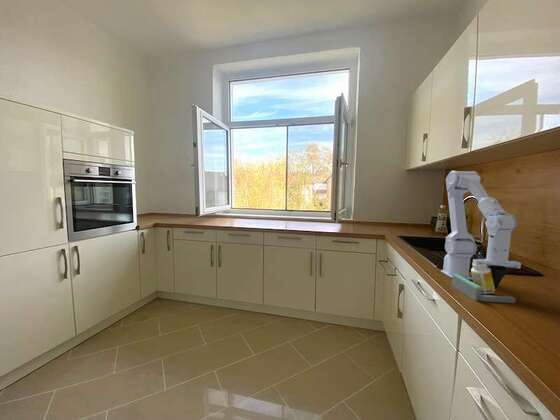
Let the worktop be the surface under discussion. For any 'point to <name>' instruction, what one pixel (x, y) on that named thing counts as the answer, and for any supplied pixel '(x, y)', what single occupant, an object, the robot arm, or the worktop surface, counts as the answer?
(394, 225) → the worktop surface
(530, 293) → the worktop surface
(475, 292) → the bay
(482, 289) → the supplement bottle
